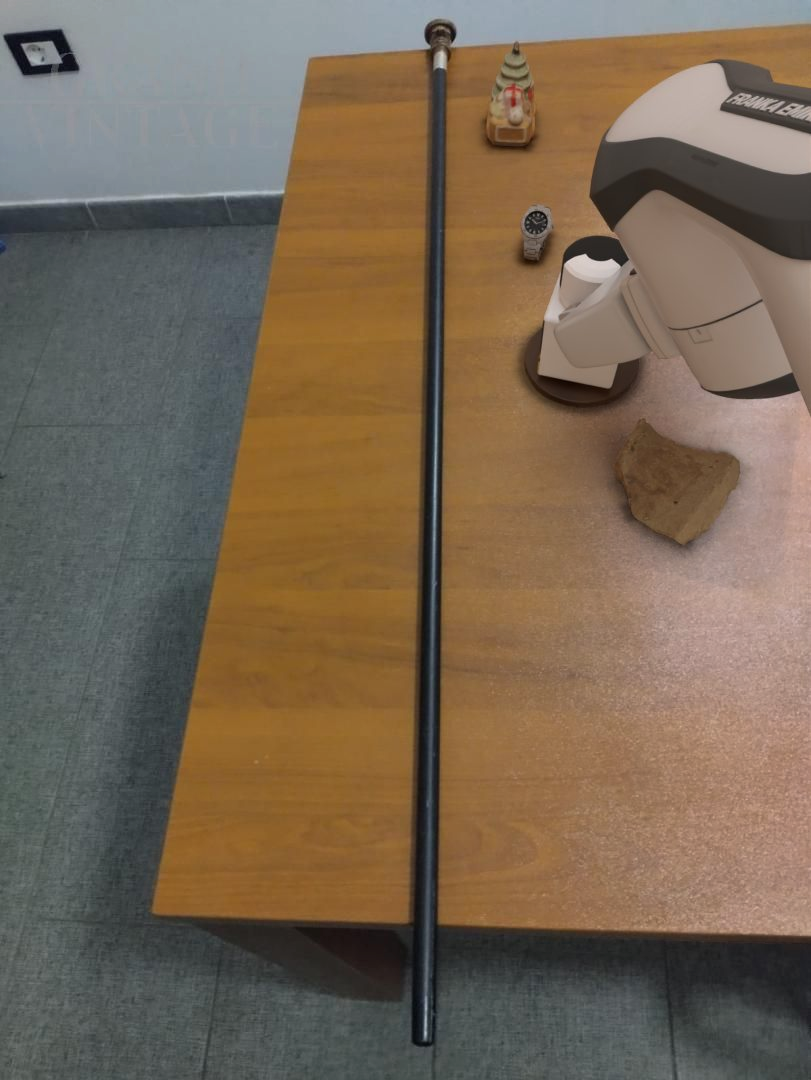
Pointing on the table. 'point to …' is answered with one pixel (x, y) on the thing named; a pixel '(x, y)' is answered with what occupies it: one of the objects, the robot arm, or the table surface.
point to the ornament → (512, 103)
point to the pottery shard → (674, 483)
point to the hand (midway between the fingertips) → (596, 292)
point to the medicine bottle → (577, 280)
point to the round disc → (575, 391)
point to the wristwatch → (536, 230)
